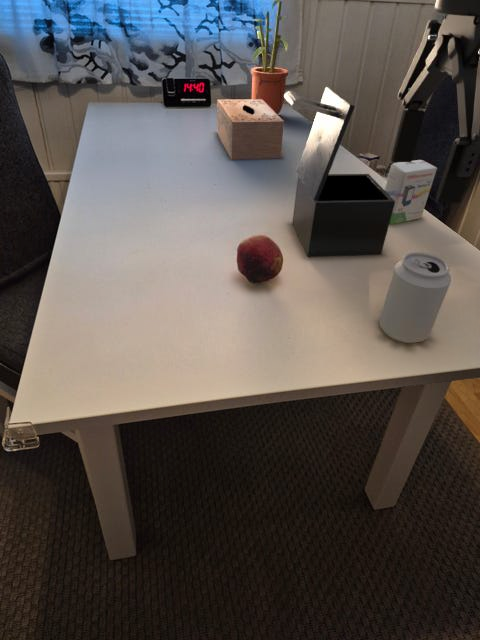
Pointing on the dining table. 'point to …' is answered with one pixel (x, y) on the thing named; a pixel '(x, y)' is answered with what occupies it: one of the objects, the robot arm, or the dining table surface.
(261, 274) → the fruit
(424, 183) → the ink box
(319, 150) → the bin lid
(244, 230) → the dining table surface
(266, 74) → the potted plant
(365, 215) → the bin
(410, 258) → the can
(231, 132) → the tissue box cover
